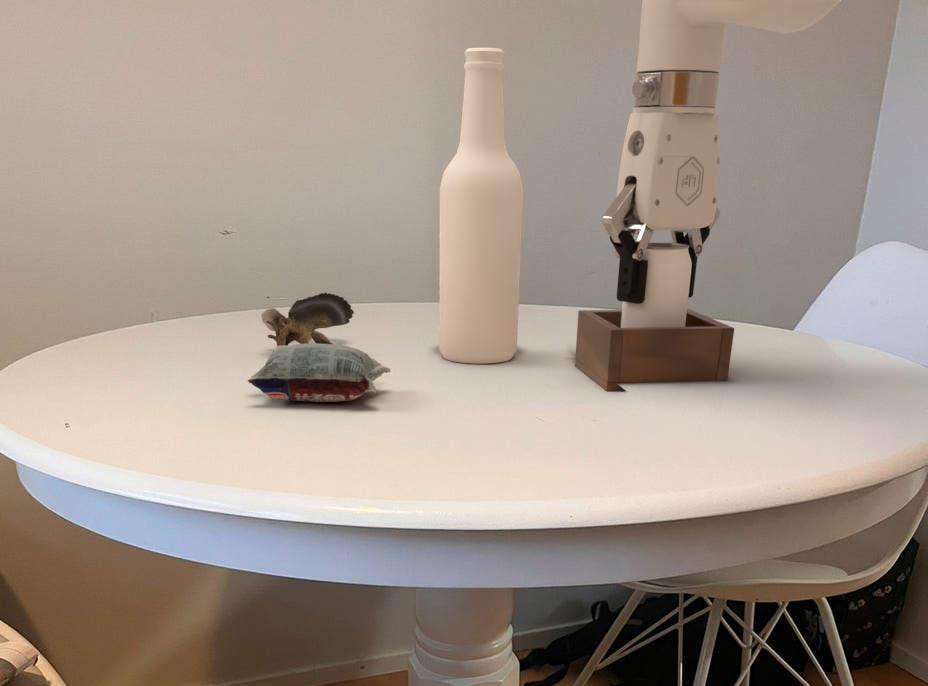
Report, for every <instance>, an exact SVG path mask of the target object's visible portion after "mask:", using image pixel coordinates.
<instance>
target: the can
mask: <svg viewBox="0 0 928 686" xmlns="http://www.w3.org/2000/svg"><path fill="white" fill-rule="evenodd" d="M689 247H690V246H689V245H686V244H677V243H673V242H649V244H648V247H647V249H646V252H645V255H644V257H643V259H642V260H648V269H647V280H646V290H645V300H644V302H643V303H640V304H636V303H629V302H623V301H622V305H621V306H622V307H621V310H622V316H621V328H643V327H685V323H686V314H687V309H688V306H689V298H688V296H689V287H690V278H691V267H692V262H691V258H690V255H689V252H688V248H689Z"/></svg>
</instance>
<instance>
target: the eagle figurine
mask: <svg viewBox="0 0 928 686" xmlns="http://www.w3.org/2000/svg"><path fill="white" fill-rule="evenodd" d="M287 314H288V317H287V316H285V315H283V314H282V313H280V311H278V310H277V309H276V308H275V307H272V308H268V309H266V310H264V311H263V312H261V315H260V317H261V320H262V323H263V324H264V325H265V326H266V328H268V329H269V330H270V331H272V332H274V333H275V335H273V334H268V335H267V338H268V339H272V340H274V341H275V342H276V348H277V347H278V346H283V345H290V344H291V343H293V342H297V343H298V344H307V343H318V344H334V345H336V344H335V343H333V342H332V341H330V339H329V338H328V337H327V336H326V335H325V334H323V333H322V332H321V331H318V330H319V329H328V328H331V327H332V328H333V327H341V326H345V325H348V324H349V323H350V319H352V318H353V317H354V316H353V315H354V314H355V311H354V310H353V309H352V305H351V304H350V303H349V302H348V300H346V299H345V298H344V297H343V296H339V295H337V294H335V293H330V292H329V293H328V292H321V293H319V294H315V295H313V296H308V297H307V298H303V299H297V300H295V301H294V303H293V304H292V306H291V307H290V309H289V310H288V313H287Z"/></svg>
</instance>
